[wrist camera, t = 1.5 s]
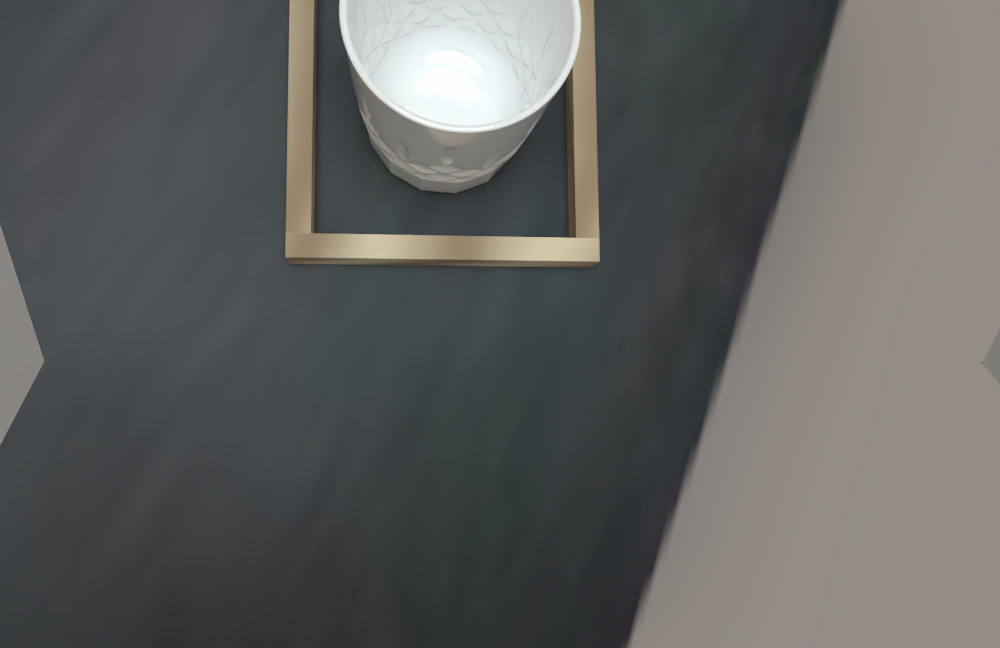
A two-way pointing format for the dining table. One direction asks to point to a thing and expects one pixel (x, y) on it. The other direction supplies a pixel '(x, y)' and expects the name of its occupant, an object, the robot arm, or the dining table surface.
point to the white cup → (455, 80)
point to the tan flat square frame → (433, 248)
